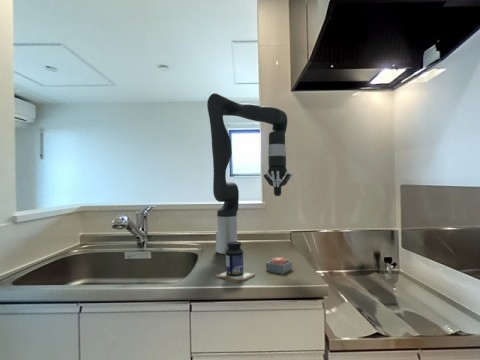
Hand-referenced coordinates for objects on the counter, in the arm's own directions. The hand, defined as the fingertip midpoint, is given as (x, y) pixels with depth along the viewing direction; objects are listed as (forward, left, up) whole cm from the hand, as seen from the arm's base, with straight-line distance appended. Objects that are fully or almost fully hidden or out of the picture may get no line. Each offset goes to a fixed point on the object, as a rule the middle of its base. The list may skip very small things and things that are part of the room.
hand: (277, 195), depth 126 cm
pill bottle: (-2, -29, -26) cm, 39 cm away
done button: (+8, -14, -27) cm, 31 cm away
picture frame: (-2, -29, -27) cm, 40 cm away
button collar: (+8, -14, -27) cm, 31 cm away
